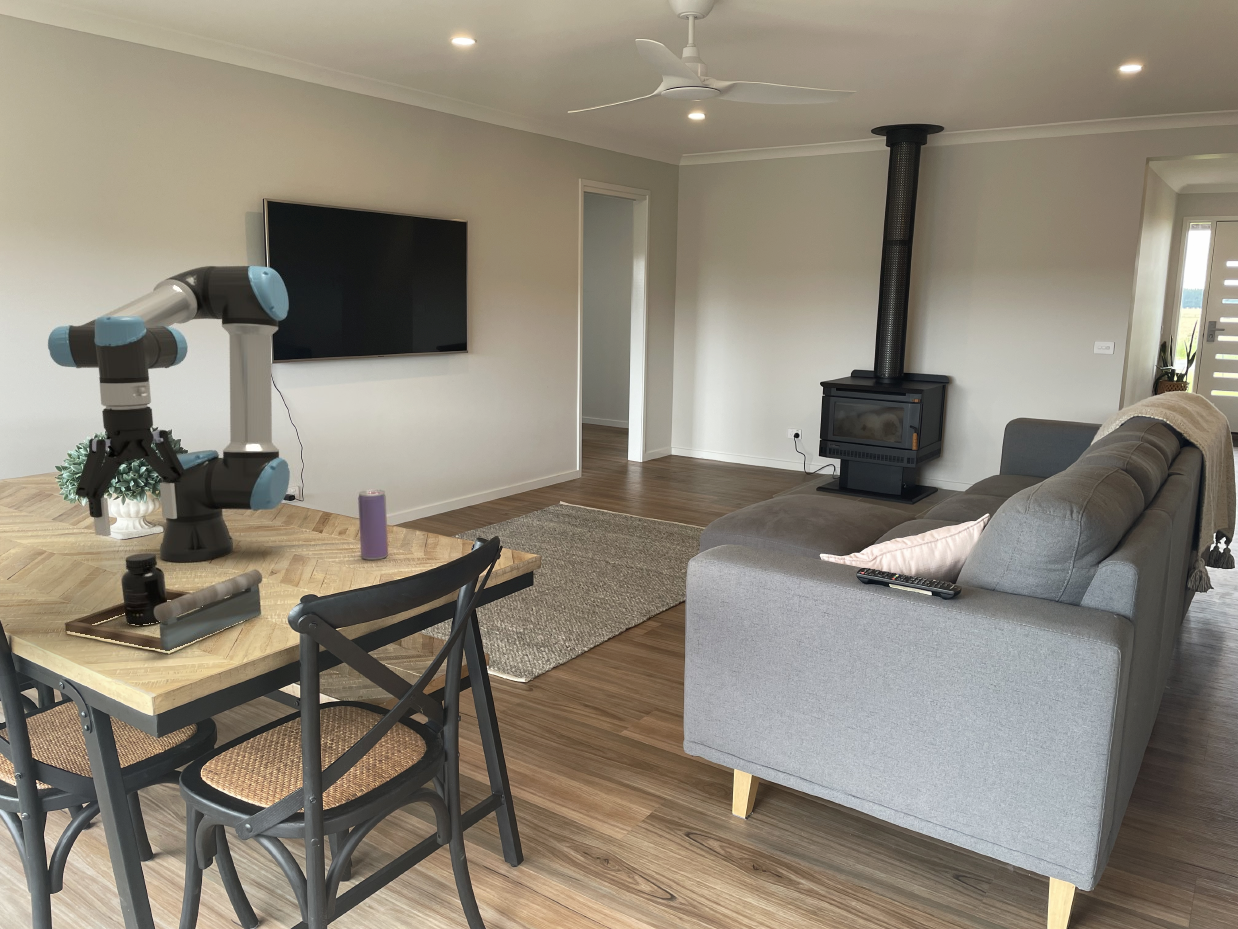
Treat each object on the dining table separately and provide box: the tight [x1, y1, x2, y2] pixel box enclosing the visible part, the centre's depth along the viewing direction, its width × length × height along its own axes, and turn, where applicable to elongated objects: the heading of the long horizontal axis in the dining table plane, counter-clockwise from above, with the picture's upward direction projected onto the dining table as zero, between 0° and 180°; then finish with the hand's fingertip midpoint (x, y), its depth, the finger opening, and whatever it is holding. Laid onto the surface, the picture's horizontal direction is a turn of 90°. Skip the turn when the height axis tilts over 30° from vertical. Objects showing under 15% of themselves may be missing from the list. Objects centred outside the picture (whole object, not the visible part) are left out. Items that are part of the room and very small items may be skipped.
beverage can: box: [357, 489, 389, 561], centre depth 198 cm, size 6×6×15 cm
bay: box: [64, 569, 263, 651], centre depth 156 cm, size 24×21×8 cm
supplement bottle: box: [120, 552, 168, 625], centre depth 158 cm, size 7×7×12 cm
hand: (137, 526), depth 156 cm, fingers open, 13 cm apart
